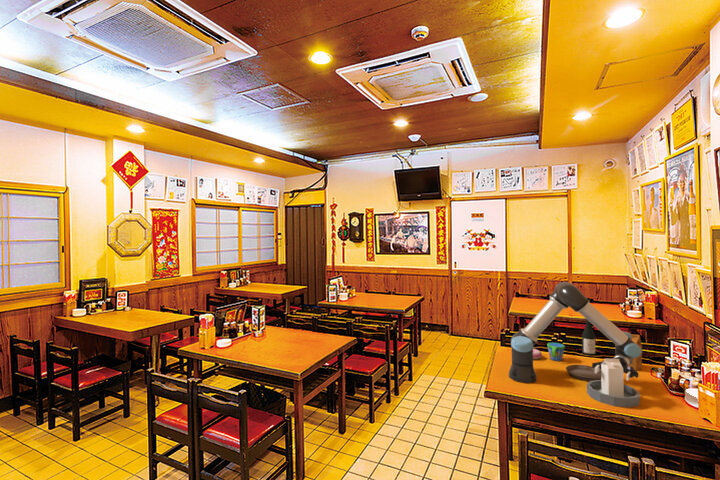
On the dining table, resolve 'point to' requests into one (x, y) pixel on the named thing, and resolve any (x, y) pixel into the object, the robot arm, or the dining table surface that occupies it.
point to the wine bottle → (588, 340)
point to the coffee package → (638, 361)
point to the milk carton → (612, 377)
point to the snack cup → (556, 351)
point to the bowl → (628, 400)
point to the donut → (536, 354)
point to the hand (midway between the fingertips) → (610, 374)
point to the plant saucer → (583, 372)
